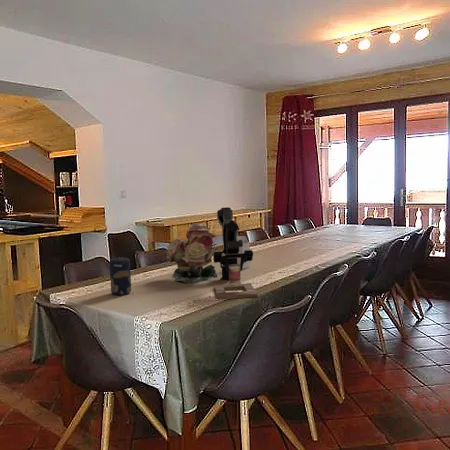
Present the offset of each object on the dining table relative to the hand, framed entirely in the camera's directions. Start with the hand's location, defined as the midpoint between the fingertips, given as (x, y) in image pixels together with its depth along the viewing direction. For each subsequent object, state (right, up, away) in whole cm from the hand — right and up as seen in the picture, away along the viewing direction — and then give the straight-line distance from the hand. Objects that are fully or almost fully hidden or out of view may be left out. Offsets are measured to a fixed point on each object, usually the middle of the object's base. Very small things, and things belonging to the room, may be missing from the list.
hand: (234, 271), depth 206 cm
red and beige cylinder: (0, -6, +2) cm, 7 cm away
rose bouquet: (-21, -8, +35) cm, 41 cm away
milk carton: (+6, -4, +59) cm, 59 cm away
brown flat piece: (0, -10, +2) cm, 10 cm away
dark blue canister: (-54, -12, +6) cm, 56 cm away
